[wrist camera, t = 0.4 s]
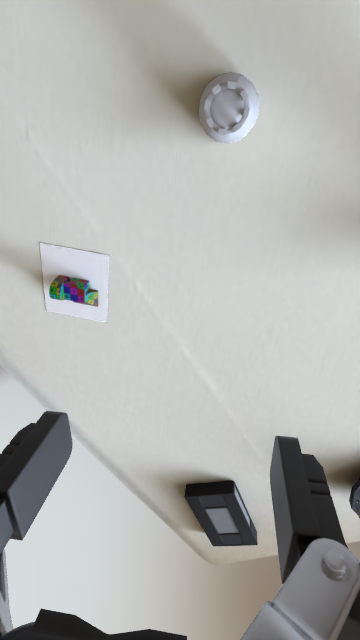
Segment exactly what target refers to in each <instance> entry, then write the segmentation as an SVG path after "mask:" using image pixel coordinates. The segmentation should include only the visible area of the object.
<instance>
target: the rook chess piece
mask: <svg viewBox="0 0 360 640" xmlns="http://www.w3.org/2000/svg"><path fill="white" fill-rule="evenodd" d="M258 112H259V99H258V93H257V91H256V89H255V87H254V85H253V83H252V82H251V81H249V80H248V79H247V78H246V77H244V76H243V75H241V74H236V73H231V72H230V73H226V74H223V75H219V76H217V77H216V78H215V79H214V80H212V81H211V82H210V83H209V84H208V85H207V87H206V88H205V90H204V92H203V94H202V96H201V99H200V105H199V116H200V122H201V125H202V127H203V128H204V130H205V132H206V134H207V135H209V136H210V137H211V138H213V139H214V140H215V141H217V142H222V143H231V142H236V141H239V140H240V139H242V138H243V137H244V136H246V135H247V134H248V133H249V132H250V130H251V129H252V127H253V126H254V124H255V123H256V120H257V116H258Z"/></svg>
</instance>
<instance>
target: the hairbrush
mask: <svg viewBox="0 0 360 640" xmlns="http://www.w3.org/2000/svg"><path fill="white" fill-rule="evenodd" d="M349 501H350V505H351V508H352V509H353V510H354V511H355V512H356V513H357V515H358V516H359V517H360V478H359V479H358V480H357V481H356V483H355V484H354V485H353V486H352V490H351V495H350V500H349ZM357 502H358V503H357Z"/></svg>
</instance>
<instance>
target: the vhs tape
mask: <svg viewBox="0 0 360 640" xmlns="http://www.w3.org/2000/svg"><path fill="white" fill-rule="evenodd" d="M185 499H186V500H187V502H188V504H189V506H190V507H191V509H192V511H193V513H194V514H195V516H196V518H197V519H198V521H199V523H200V525H201V526H202V528H203V530H204V531H205V533H206V535H207V537H208V538H209V540H210V542H211V543H212V545H213V546H242V545H257V531H256V529H255V527H254V524H253V522H252V520H251V518H250V516H249V513H248V511H247V509H246V507H245V504H244V502H243V500H242V498H241V495H240V493H239V491H238V489H237V486H236V484H235V482H234V481H226V482H215V483H203V484H194V485H193V484H192V485H186V489H185Z"/></svg>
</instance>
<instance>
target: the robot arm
mask: <svg viewBox="0 0 360 640" xmlns="http://www.w3.org/2000/svg"><path fill="white" fill-rule="evenodd" d="M71 451H72V438H71V432H70V426H69V420H68V415H67V414H66V413H62V412H53V411H46V412H45V413H44V414H43V415H42V416H41V417H40V419H39V420H38V421H37V423H31V424H29V425H27V426H26V427H25V428H23V429H22V430H20V431H19V432H18V433H17V434H16V435H15V437H14V438H13V439H12V440H11V442H10V444H9V445H7V446H6V448H5V449H4V450H3V452H2V454H0V640H187V636H183V635H178V634H172V633H167V632H162V631H157V630H151V629H147V630H140V631H133V632H126V633H119V634H111V635H110V634H106V633H104V632H102V631H101V630H99V629H97V628H96V627H94V626H92V625H91V624H89V623H87V622H86V621H84V620H82V619H81V618H79V617H77V616H75V615H72V614H66V613H61V612H56V611H50V610H45V609H41V610H40V612H39V614H38V617H37V619H36V621H35V622H32V623H28V624H25V625H22V626H20V627H17V628H15V629H13V625H12V620H11V616H10V610H9V598H8V584H7V570H6V557H5V550H4V548H5V546H6V544H7V542H8V541H9V539H17V540H23V538H24V537H25V535H26V533H27V531H28V529H29V528H30V526H31V524H32V523H33V521H34V519H35V517H36V516H37V514H38V512H39V510H40V509H41V507H42V505H43V503H44V501H45V500H46V498H47V496H48V494H49V493H50V491H51V489H52V487H53V486H54V484H55V482H56V480H57V478H58V477H59V475H60V473H61V472H62V470H63V468H64V466H65V465H66V463H67V461H68V459H69V457H70V454H71ZM270 484H271V493H272V502H273V510H274V519H275V528H276V536H277V545H278V553H279V562H280V570H281V579H282V584H283V586H282V587H281V589H280V590H279V592H278V593H277V595H276V597H275V598H274V599H273V600H272V601H271V602H270V601H268V602H266V603H265V604H264V606H263V607H262V608H261V610H260V611H259V612H258V614H257V615H256V617H255V618H254V620H253V621H252V623H251V624H250V626H249V627H248V629H247V630H246V632H245V633H244V635H243V637H242V638H241V639H240V640H360V563H359V562H358V560H357V558H356V557H355V556H354V555H353V553H352V552H351V551H349V549H348V547H347V545H346V543H345V540H344V537H343V534H342V530H341V527H340V524H339V520H338V517H337V514H336V510H335V507H334V504H333V500H332V497H331V496H330V490H329V487H328V484H327V480H326V477H325V473H324V470H323V467H322V466H321V465H320V463H319V462H318V461H317V459H316V458H315V457H314V456H313V455H309V454H302V453H301V449H300V445H299V441H298V438H294V437H284V436H276V437H275V442H274V448H273V454H272V461H271V468H270Z"/></svg>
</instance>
